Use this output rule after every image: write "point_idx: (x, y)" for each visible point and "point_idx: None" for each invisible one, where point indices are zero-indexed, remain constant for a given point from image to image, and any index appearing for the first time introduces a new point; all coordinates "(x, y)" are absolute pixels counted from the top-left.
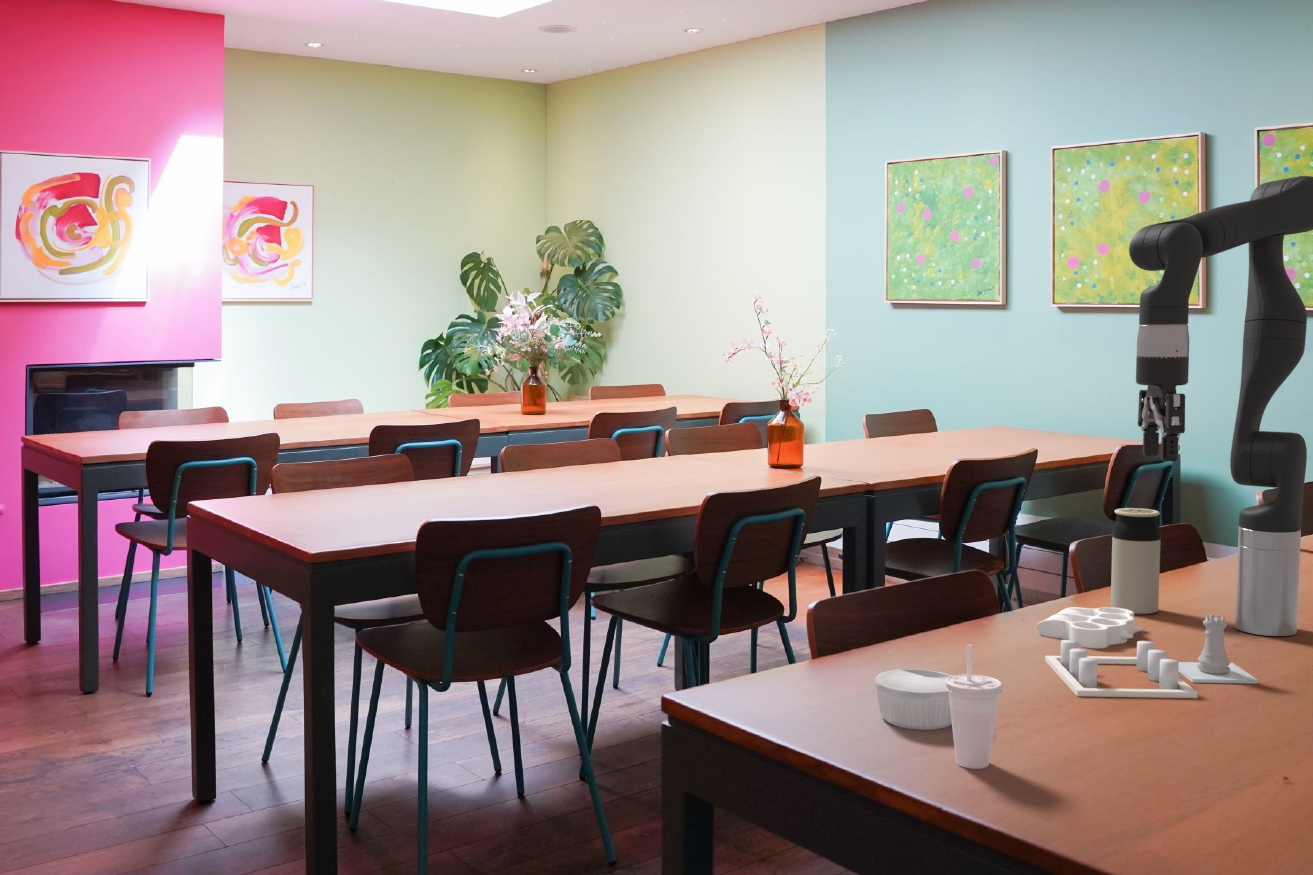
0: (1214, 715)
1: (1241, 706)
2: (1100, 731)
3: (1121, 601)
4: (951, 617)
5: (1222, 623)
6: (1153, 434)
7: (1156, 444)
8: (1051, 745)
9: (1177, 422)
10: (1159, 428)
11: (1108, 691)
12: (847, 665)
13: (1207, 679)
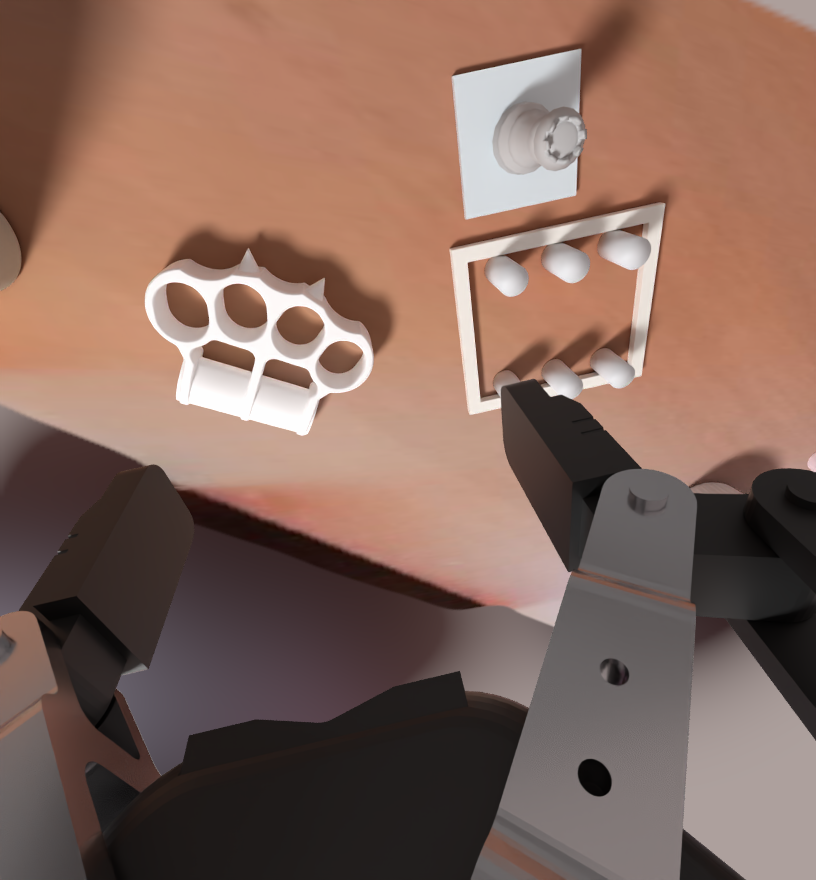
0: (742, 190)
1: (708, 129)
2: (770, 350)
3: (4, 279)
4: (238, 534)
5: (582, 124)
6: (116, 612)
7: (134, 524)
8: (798, 398)
9: (686, 596)
10: (42, 633)
11: (646, 337)
12: (517, 583)
13: (576, 165)
